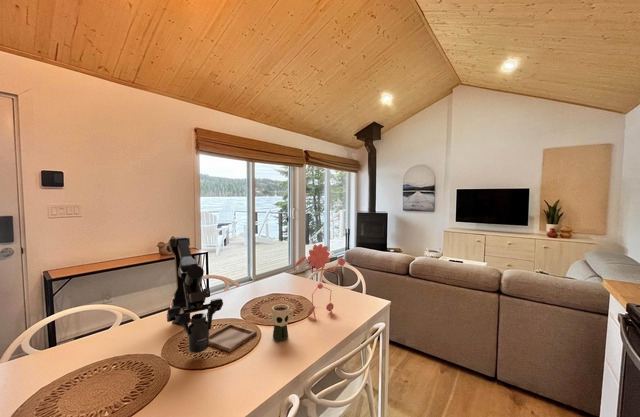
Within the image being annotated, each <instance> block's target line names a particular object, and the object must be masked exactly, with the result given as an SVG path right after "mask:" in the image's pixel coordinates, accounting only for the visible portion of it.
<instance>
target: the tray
mask: <svg viewBox="0 0 640 417" xmlns="http://www.w3.org/2000/svg"><path fill="white" fill-rule="evenodd" d="M255 335H256V336H257V331H256V330H253V329H250V328H246V327H244V326H240V325H238V324H234V323H232V322H231V323H229V324H227V325H225V326H222V327H221V328H219V329H217V330H215V331H214V332H211V333H209V346H211V345H212V347H213V348H216V347H217V349H219V350H221V351H225V352H227V353H231V352H233V351H235V350H236V349H238V348H239V347H240V345H241V346H242V345H244V344H245V343H247V342H248V341H249V339H250V338H251V339H252V337H253V336H254V337H256V336H255ZM254 337H253V338H254ZM251 339H250V340H251ZM247 340H248V341H247ZM246 341H247V342H246ZM244 342H245V343H244ZM243 343H244V344H243ZM237 347H238V348H237Z"/></svg>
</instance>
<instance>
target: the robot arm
mask: <svg viewBox="0 0 640 417" xmlns="http://www.w3.org/2000/svg"><path fill="white" fill-rule="evenodd" d="M190 239H191V238H190V237H187V236H180V237H179V236H178V237H171V238H170V239H169V240H168V243H167V244H168V248H169V249H170V253H171V254H172V256H173V257H174V265H175V266H174V268H175V281H176V289H175V292H173V296H172V297H173V298H172V299H171V304H170V306H171V307H170V308H168V309H167V313H166V321H167V322H168V323H170V322H171V324H174V325H176V326H179V327H182V328H183V330H184V331H185V333H186V334H187V335H189V334H190V332H189V323H191V320H192V317H191V314H192V313H193V314H194V313H196V312H201V311H205V310H207V313H206V321H207V322H208V323H209V331H210V330H212V323H213V316H214V314H215V313H216V312H218V311H220V310H221V309H222V308H223V306H224V301H223V299H222V298H221V297H218V298H213V299H211V300H210V302H209V303H206V298H209V297H211V290H210V288H209V287H207V288H204V289H203V290H202V289H201V283H202V280H203V276H204V273H205V271H204V269H203V268H202V267H201V265H199V263H198V261H197V259H195V258H193V256H192V252H191V249H190V246H191V241H190ZM205 303H206V304H205Z"/></svg>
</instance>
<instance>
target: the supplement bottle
mask: <svg viewBox="0 0 640 417" xmlns="http://www.w3.org/2000/svg"><path fill="white" fill-rule="evenodd" d="M191 319H192V320H191V322H190V324H188V327H189V332H190V334H189V335H188V334H187V335H188V338H187V339H188V341H187V342H188V343H187V344H188V351H189V352H190V353H193V354H198V353H202V352H205V351H206V350H207V349H209V347H210V345H209V335H210V330H209V323H208V320H207V313H204V312H203V313H195V314H193V315H192V316H191Z"/></svg>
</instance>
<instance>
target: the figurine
mask: <svg viewBox="0 0 640 417" xmlns="http://www.w3.org/2000/svg"><path fill="white" fill-rule="evenodd" d="M328 250H329V247H328V246H327V245H325V246H323V244H322V243H320V244H318V245H317V244H314V245H313V247H312V249H309V250H308V254H309V255H308V257H307V256H306V255H304V256H302V257H301V258H300V259H299V260H297V261H296V263H295V265H294V268H296V267H298V266H300V265H301V264H302V263H303V262H304V261H306V264H307V266H308V268H309V271H310V272H311V273H316V272H319V271H321V272H320V278H319V283H317V287H316V288H315V289H314V291H313V293H312V294H311V300H312V301H311V304H312V305H311V307H310V310H309V311H308V312H307V317H309V316H310V315H311V314H312V313H313V318H314V320H315V321H316V320H317V319H316V312H315V309H316V306H315V305H314V294H315V292H316V291H317V289H320V290H322V289H323V288H324V289H326V290H328V291H330V296H329V303H327V304H326V307H325V309H326V310H327V311H328V312H330V315H331V317H332V318H333V317H334V315H333V310H334V308H335V307H334V304H333V303H331V300H332V290H331V289H330V288H327V287H325V286H324V284H323V283H322V282H321V281H322V276H323V271H325V272H326V271H327V272H330V273H334V272H335V270H336V269H337V267H338V266H339V265H340V266H341V267H343V266H344V265H346V260H345V259H344V258H343V257H340V258H338V259H337V264H336V266H335V267H334V268H333V269H332V270H330V269H326V268H325V266H326V263H327V264H328V263H330V262H331V259H330V257H329V256H330V255H331V254H330V251H328ZM312 267H314V268H315V270H312ZM342 314H343V315H344V313H342Z"/></svg>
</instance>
